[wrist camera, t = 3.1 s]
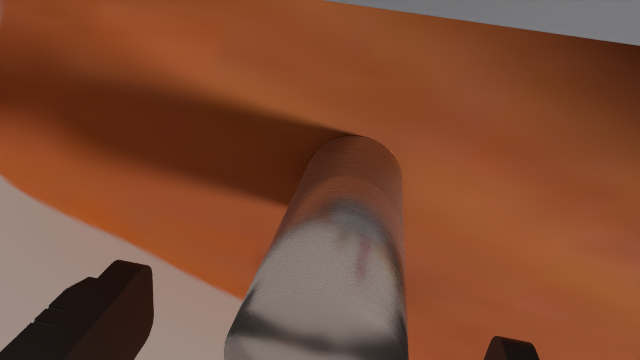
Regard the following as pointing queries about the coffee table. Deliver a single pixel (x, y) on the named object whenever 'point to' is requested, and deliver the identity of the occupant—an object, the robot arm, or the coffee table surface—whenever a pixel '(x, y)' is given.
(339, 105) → the coffee table surface
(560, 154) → the coffee table surface
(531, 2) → the bore block
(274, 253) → the round bit
